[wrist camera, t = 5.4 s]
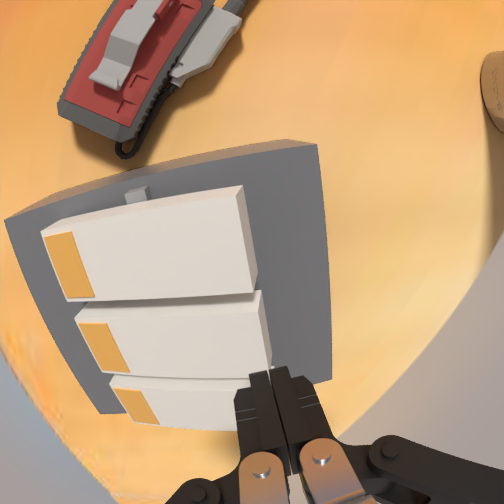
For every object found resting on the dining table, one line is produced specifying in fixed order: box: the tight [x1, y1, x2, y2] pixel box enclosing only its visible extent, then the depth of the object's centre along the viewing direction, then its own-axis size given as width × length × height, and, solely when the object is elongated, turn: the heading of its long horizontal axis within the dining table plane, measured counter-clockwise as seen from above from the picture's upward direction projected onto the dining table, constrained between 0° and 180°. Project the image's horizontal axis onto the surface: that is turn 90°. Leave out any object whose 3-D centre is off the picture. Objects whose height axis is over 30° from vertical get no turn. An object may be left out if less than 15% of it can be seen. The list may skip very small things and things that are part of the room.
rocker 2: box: [109, 366, 275, 431], centre depth 17 cm, size 10×4×2 cm, turn 99°
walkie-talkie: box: [57, 0, 248, 159], centre depth 16 cm, size 9×4×20 cm
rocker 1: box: [74, 290, 272, 378], centre depth 16 cm, size 10×4×2 cm, turn 99°
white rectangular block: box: [40, 185, 258, 302], centre depth 14 cm, size 10×4×2 cm, turn 99°
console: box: [4, 139, 332, 414], centre depth 20 cm, size 18×16×8 cm
